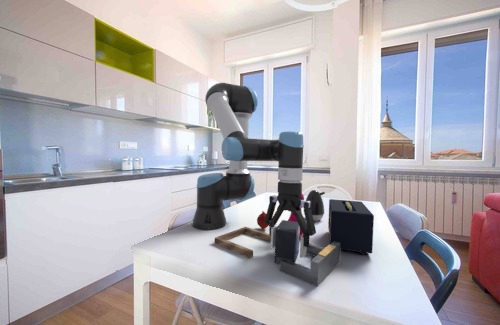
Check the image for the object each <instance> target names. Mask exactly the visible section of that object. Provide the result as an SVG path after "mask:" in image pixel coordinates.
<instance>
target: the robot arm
mask: <svg viewBox="0 0 500 325" xmlns="http://www.w3.org/2000/svg"><path fill="white" fill-rule="evenodd" d="M256 92H257V91H255V89H253V87H252V88H251V87H249V86H246V85H238V84H232V83H228V82H227V83H226V82H219V83H215V84H214V85H212V86H211V87H210V88H208V90H207V92H206V94H205V98H204V99H205V100H204V101H205V105H206V107H207V109H208V111H210V112H211V113H212V115H213V117H214V119H215V122H216V124H217V127H218V129H219V131H220V133H221V135H222V138H223V140H222V143H221V155H222V158H223V159H224V160H226V161H229V167H228V169H227V170H226V171H225V175H224V174H223V173H222V172H211V173H205V174H202V175H200V176H198V178H197V180H196V181H197V182H196V210H195V213H194V216H193V218H192V227H193V228H195V229H199V230H217V229H221V228H223V227H225V226H226V225H227V218H226V216H225V215H226V214H225V211H224V207H223V202H224V201H235V200H239V201H242V200H246V199H249V198H251V196H252V195H253V194H254V190H255V178H254V177H253V175H251V172H250V171H249V169H248V162H278V167H277V168H278V171H277V179H278V180H279V181H278V182H277V195H275V194H273V195H270V196H269V200H268V201H269V204H268V207H267V210H266V217H265V221H264V222H265V224H268V225H269V226H268V227H269V229H268V230H269V232H268V234H269V235H270V236H271V241H270V247H271V248H275V229H276V228H277V226H278V225H277V223H278V221H279V219H280V218H281V216H282V214H283V212H284V211H287V212H289V213H291V212H292V213H293V215H295V217H296V220H297V222H298V224H299V226H300V229H301V231H302V233H303V235H301V237H300V240H299V258H301V259H303V258H304V257H305V256H307V253H306V247H307V246H309V243H310V237H312V236H315V234H317V229H316V226H315V221H314V220H313V216H312V211H311V201H306V200H305V199H304V200H302V198H301V194H303V183H302V182H301V181H303V165H304V164H303V163H304V162H303V161H304V147H305V146H304V135H303V134H304V133H302V132H301V131H281V132H280V133H279V135H278V136H279V137H278V139H263V138H260V139H259V138H251V137H250V138H249V129H250V128H249V123H250V122H249V120H250V118H252V116H253V114H254V113H255V112H256V111H257V107H258V103H259V102H258V96H257V93H256ZM277 202H278V206H277ZM301 204H302V207H303V208H300V205H301ZM276 206H277V207H276ZM275 208H276V211H275ZM302 209H303V210H302ZM296 210H297V211H296ZM302 212H303V213H302ZM303 214H304V215H303Z"/></svg>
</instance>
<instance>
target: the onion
mask: <svg viewBox="0 0 500 325" xmlns="http://www.w3.org/2000/svg"><path fill="white" fill-rule="evenodd" d="M266 214H267V212H265V211H264V210H262V212H261V213H260V214H259V215H258V216H257V218H256V223H257V226H259V227H260V228H261V229H262V230H265V229H267V228H268V227H269V225H268V224H265V222H264V221H265V217H266Z"/></svg>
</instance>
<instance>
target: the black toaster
mask: <svg viewBox="0 0 500 325" xmlns="http://www.w3.org/2000/svg"><path fill="white" fill-rule="evenodd" d="M374 220H375V215H374V214H373V212H372V211H370V209H369V208H368V207H367V206H366V205H365V204H364V203H363V202H362V201H359V200H345V199H334V198H329V199H328V222H327V223H328V224H327V225H328V237H329V245H330V244H331V243H333V242H334V241H335V242H339V243H341V247H340V250H346V251H351V252H359V253H360V254H362V255H367V254H372V253H373V245H374V243H373V242H374V222H375V221H374Z"/></svg>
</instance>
